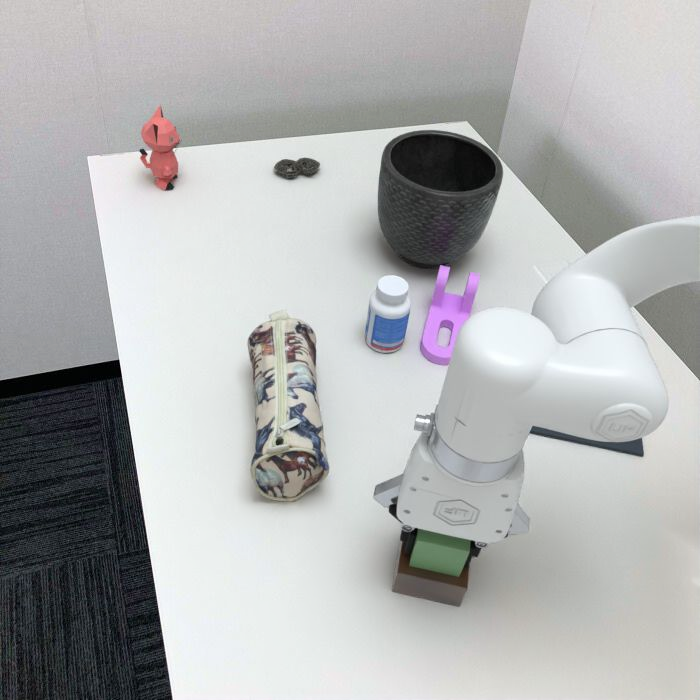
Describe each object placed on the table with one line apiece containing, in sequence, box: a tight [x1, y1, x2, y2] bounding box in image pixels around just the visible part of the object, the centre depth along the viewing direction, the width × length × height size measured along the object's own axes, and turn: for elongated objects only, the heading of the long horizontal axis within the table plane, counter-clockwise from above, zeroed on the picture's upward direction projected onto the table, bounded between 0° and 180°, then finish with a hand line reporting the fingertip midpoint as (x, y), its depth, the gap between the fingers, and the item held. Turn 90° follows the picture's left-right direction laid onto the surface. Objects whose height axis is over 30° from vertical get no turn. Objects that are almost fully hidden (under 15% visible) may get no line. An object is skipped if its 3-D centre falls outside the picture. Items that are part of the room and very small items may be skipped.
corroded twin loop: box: [273, 157, 321, 179], centre depth 126 cm, size 5×8×1 cm, turn 108°
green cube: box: [409, 528, 471, 577], centre depth 72 cm, size 5×5×5 cm
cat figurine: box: [138, 103, 183, 191], centre depth 116 cm, size 7×7×12 cm
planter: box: [377, 129, 504, 270], centre depth 108 cm, size 17×17×16 cm
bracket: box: [420, 265, 481, 366], centre depth 100 cm, size 13×6×7 cm, turn 166°
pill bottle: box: [364, 274, 412, 354], centre depth 96 cm, size 6×5×10 cm
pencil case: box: [246, 309, 330, 502], centre depth 85 cm, size 22×8×10 cm, turn 6°
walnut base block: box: [391, 540, 471, 608], centre depth 76 cm, size 7×7×4 cm
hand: (437, 547), depth 74 cm, fingers closed on green cube, 5 cm apart
